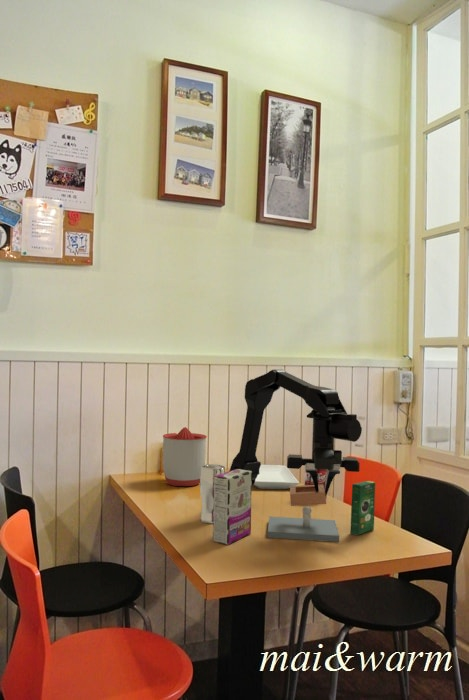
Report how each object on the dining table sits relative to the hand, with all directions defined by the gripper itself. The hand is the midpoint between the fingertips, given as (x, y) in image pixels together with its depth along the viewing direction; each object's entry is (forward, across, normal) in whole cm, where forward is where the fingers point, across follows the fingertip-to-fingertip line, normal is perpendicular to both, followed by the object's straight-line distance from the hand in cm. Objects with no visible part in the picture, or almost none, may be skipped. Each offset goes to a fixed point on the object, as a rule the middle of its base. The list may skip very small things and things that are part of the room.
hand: (321, 495), depth 153 cm
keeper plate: (+10, -5, 0) cm, 11 cm away
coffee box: (+10, +11, +3) cm, 15 cm away
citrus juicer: (+10, -46, +49) cm, 68 cm away
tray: (+10, -15, +60) cm, 63 cm away
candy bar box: (+10, -23, -9) cm, 26 cm away
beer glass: (+10, -30, +5) cm, 32 cm away
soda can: (+10, 0, +35) cm, 36 cm away
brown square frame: (+2, -4, 0) cm, 4 cm away
